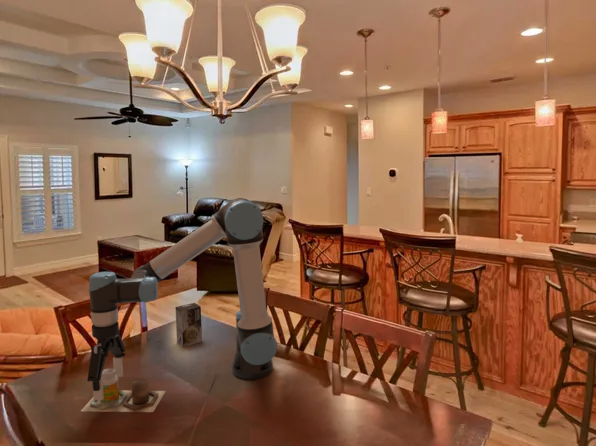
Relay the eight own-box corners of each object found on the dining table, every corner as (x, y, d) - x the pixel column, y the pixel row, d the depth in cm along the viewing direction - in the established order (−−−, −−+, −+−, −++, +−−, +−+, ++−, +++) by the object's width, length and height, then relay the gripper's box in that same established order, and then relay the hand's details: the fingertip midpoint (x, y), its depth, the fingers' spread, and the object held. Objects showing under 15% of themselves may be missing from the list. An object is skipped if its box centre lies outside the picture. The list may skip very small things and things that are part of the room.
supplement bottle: (98, 406, 127) (97, 376, 126) (102, 397, 132) (100, 368, 131) (117, 403, 129) (116, 374, 127) (120, 394, 134) (119, 366, 133)
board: (166, 395, 137) (165, 388, 136) (153, 416, 125) (153, 409, 124) (99, 394, 137) (99, 387, 136) (80, 415, 125) (80, 408, 124)
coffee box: (195, 337, 184) (194, 302, 182) (202, 342, 179) (201, 306, 177) (176, 342, 178) (175, 306, 176) (182, 347, 173) (181, 310, 171)
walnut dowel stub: (151, 396, 133) (150, 378, 132) (145, 405, 128) (145, 387, 127) (136, 396, 133) (135, 378, 132) (129, 405, 128) (128, 386, 127)
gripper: (111, 308, 140) (114, 368, 142) (70, 339, 115) (75, 410, 118) (133, 308, 140) (136, 368, 142) (97, 339, 115) (102, 410, 118)
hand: (109, 387), depth 130 cm, fingers open, 13 cm apart
